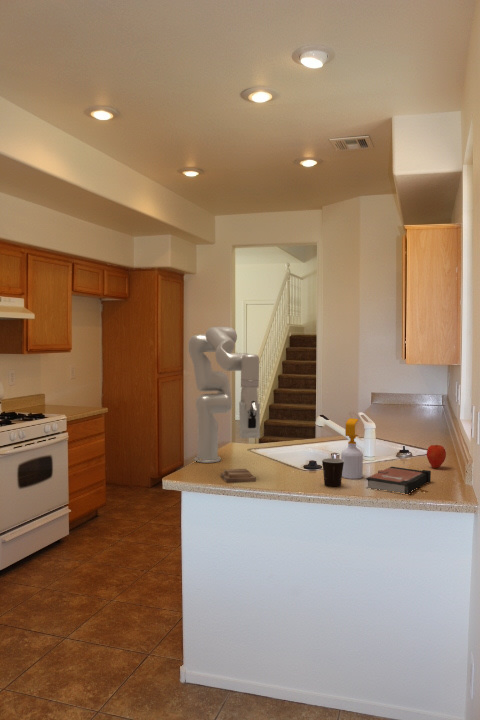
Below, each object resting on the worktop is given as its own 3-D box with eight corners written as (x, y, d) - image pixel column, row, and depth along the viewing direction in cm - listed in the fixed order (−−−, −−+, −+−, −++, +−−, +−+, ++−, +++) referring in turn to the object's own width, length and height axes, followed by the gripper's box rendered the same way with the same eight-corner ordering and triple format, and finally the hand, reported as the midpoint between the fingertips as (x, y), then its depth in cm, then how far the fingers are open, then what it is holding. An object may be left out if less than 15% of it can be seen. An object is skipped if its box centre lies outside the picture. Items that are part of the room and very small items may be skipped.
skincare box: (258, 436, 252) (258, 401, 252) (260, 438, 246) (260, 402, 246) (238, 436, 251) (239, 401, 251) (239, 438, 245) (240, 402, 245)
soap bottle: (365, 475, 254) (366, 418, 253) (358, 480, 246) (359, 421, 245) (345, 473, 258) (346, 417, 257) (337, 477, 250) (338, 419, 249)
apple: (438, 471, 264) (439, 446, 264) (422, 467, 271) (422, 444, 270) (449, 468, 270) (449, 444, 269) (432, 465, 276) (433, 442, 276)
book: (389, 476, 255) (390, 465, 255) (430, 482, 245) (430, 470, 244) (364, 489, 233) (364, 476, 233) (407, 496, 223) (408, 483, 223)
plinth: (220, 476, 251) (220, 469, 251) (247, 474, 254) (248, 467, 254) (227, 482, 239) (227, 475, 239) (255, 481, 242) (255, 474, 242)
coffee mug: (326, 481, 243) (327, 457, 242) (346, 484, 238) (347, 459, 238) (315, 487, 233) (315, 462, 232) (335, 490, 228) (336, 465, 228)
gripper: (235, 382, 255) (234, 423, 256) (247, 385, 238) (247, 430, 239) (251, 382, 257) (251, 423, 258) (265, 385, 241) (264, 429, 241)
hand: (249, 426), depth 249 cm, fingers closed on skincare box, 6 cm apart
